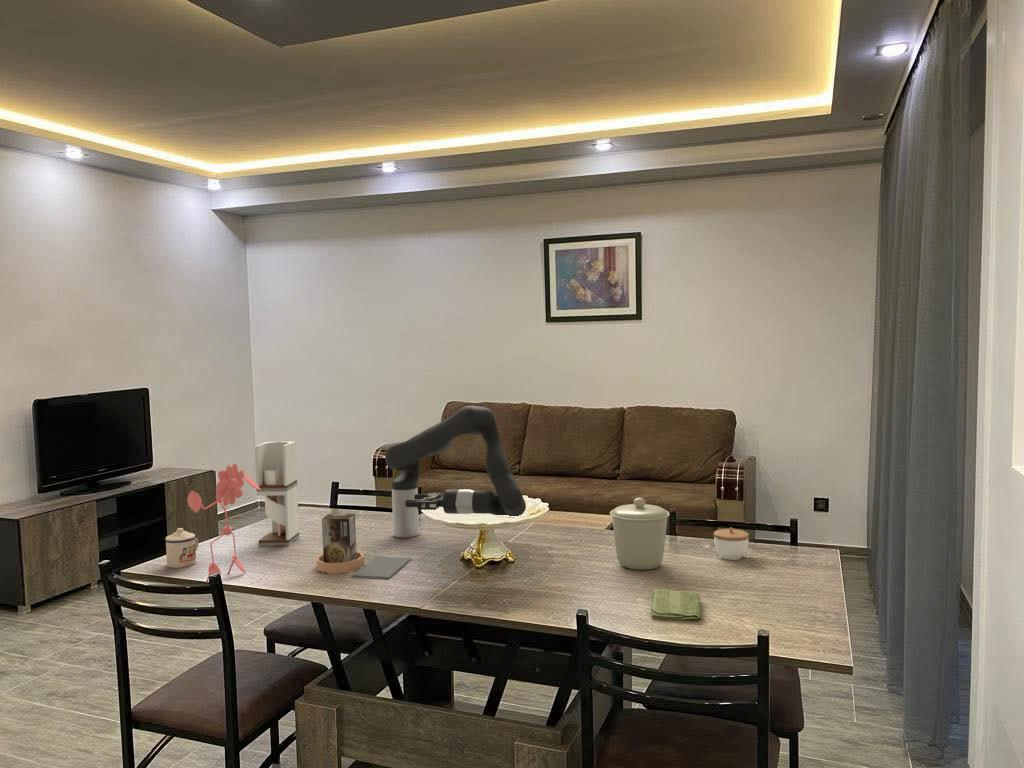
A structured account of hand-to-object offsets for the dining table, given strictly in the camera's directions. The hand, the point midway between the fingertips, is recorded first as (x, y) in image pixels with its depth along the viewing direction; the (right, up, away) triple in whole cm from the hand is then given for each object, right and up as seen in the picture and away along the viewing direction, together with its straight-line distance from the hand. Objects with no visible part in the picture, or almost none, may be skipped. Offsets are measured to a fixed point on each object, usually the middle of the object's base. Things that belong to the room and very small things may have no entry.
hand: (410, 500), depth 241 cm
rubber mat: (-9, -21, -1) cm, 23 cm away
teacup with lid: (-74, -22, +9) cm, 78 cm away
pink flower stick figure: (-51, -23, -10) cm, 57 cm away
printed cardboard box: (-22, -21, +2) cm, 31 cm away
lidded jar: (+101, -19, +4) cm, 103 cm away
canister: (+71, -20, -3) cm, 74 cm away
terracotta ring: (-22, -21, +2) cm, 31 cm away
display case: (-51, -20, +34) cm, 64 cm away
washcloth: (+74, -22, -41) cm, 88 cm away
